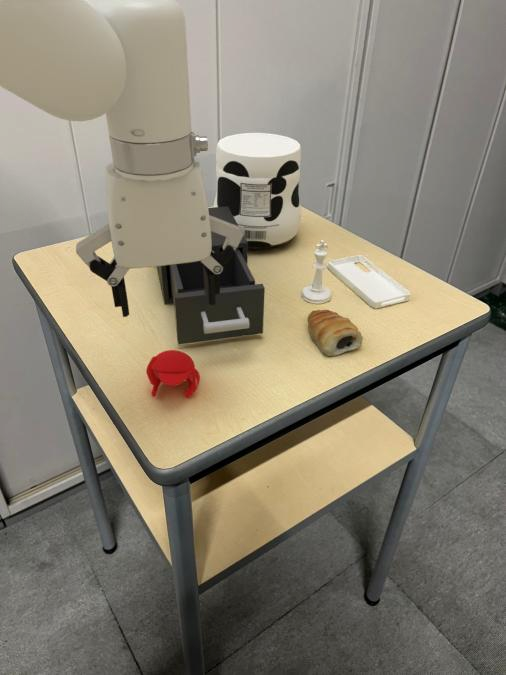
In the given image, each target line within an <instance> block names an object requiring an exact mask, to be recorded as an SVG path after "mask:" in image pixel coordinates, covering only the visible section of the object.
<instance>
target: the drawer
mask: <svg viewBox="0 0 506 675" xmlns="http://www.w3.org/2000/svg"><path fill="white" fill-rule="evenodd" d="M213 251H214V252H215V251H216V250H213ZM203 265H204V264H203V263H202V262H201V261H196V262H190V263H181V264H173V265H169V273H170V285H171V294H172V299H173V303H174V304H173V307H174V318H175V328H176V340H177V344H178V345H186V344H187V345H188V344H194V343H195V344H196V343H202V342H208V341H217V340H224V339H232V338H238V337H247V336H254V335H260V334H264V318H265V316H264V315H265V292H266V291H265V290H266V289H265V288H266V287H265V285H264V283H256V280H255V277H254V275H253V274H252V272H251V270H250V268H249V266H248V263H247V264H246V262H245V260H244V258H243V256H242V254H241V252H240V250H239V248H236V250H235V255H234V256H233V257H232V258H231V259H230V260H229V261H228V262H227V264H226V265H225V266H224V267H223V270H222V272H221V273H220V274H219V278H220V294H216V295H215V303H216V304H215V305H212V306H211V305H209V303H208V300H207V297H206V295H205V289H204V270H203Z"/></svg>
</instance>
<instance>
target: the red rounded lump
mask: <svg viewBox="0 0 506 675" xmlns="http://www.w3.org/2000/svg"><path fill="white" fill-rule="evenodd" d="M145 372H146V376H147V378H148V380H149V384H150V385H151V386H152V389H151V392H150V395H151V397H152V398H155V397H156V396H157V393H158V391H159V390H158V389H159V386H160V385H161V383H162V384H163V385H165V386H167V387H168V386H169V387H174V386H178V385H180V384H183V383H184V382H185V381H186V382H187V390H186V391H184V393H183V397H184V398H186V399H188V398H190V397H192V396H193V395H194V393H195V392H196V391H197V389H198V387H199V385H200V380H201V374H200V372H199V371H198V369H197V368H196V365H195V360H194V359H193V358H192V357H191V356H190V355H189V354H187V353H186V352H184V351H181V350H176V349H168V350H164V351H162V352H161V351H160V353H158V354H156V355H155V356H151V359H150V361H149V362H148V364H147V367H146V371H145Z"/></svg>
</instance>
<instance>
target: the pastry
mask: <svg viewBox="0 0 506 675" xmlns="http://www.w3.org/2000/svg"><path fill="white" fill-rule="evenodd" d="M307 322H308V329H309V331H310V336H311V338H312V339H313V341H314V343H315V345H316V346H317V347H318V348H319V350H320V352H321V353H323V354H324V355H325V356H328V357H334V356H339V355H341V354H344V353H345V352H348V351H353V350H357V349H358V348H359V347H360V346H362V343H363V340H364V336H362V333H361V331H359V328H358V327H357V326H356V325H355V323H353V322H351V319H350V318H349V317H343V316H342V315H340V314H338V312H336V311H333V310H330V309H322V310H321V309H317V310H312V311H311V312H310V313H309V314H308V316H307Z"/></svg>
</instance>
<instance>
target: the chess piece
mask: <svg viewBox="0 0 506 675" xmlns="http://www.w3.org/2000/svg"><path fill="white" fill-rule="evenodd" d="M315 248H316V250H314V257H315V261H316V262H314V263H313V264H312V268H313V269H314V270H315V272H314V276H313V281H312V283H311V284H309V285H306V286H304V287H303V288H302V290H301V294H300V295H301V299H303V300H304V301H306V302H308V303H310V304H315V305H316V304H317V305H320V304H326V303H328V302H329V301H330V300H331V299H332V292H331V290H330V289H329V288H328V287H326V286H325V285H323V271H324V270H326V269H327V265H326V263H325V260H326V258H327V256H328V252H327V250H325V249H324V248H328V243H325V240H323V239H322V240H321V239H320V243H318V244H317V243H316V244H315Z"/></svg>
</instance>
